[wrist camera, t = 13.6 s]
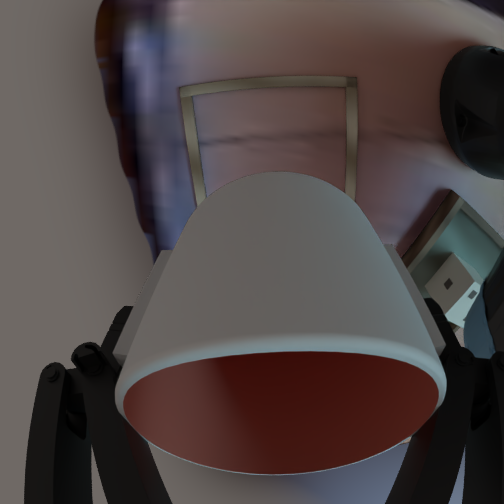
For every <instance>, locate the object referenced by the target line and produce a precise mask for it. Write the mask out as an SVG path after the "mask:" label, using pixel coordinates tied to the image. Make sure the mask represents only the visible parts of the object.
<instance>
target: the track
mask: <svg viewBox="0 0 504 504" xmlns="http://www.w3.org/2000/svg"><path fill="white" fill-rule="evenodd" d="M294 86H328V87H346V178H345V194H346V195H348V196H349V197H350V198H351V199H352V200H353V201H354V202H355V190H356V170H357V134H358V108H357V77H340V76H277V77H259V78H246V79H236V80H226V81H218V82H210V83H203V84H197V85H190V86H184V87H179V91H180V98H181V106H182V113H183V120H184V127H185V133H186V140H187V147H188V153H189V159H190V165H191V172H192V178H193V183H194V189H195V195H196V201H197V206H199V205H200V204H201V203H202V202H203V201H204V200H205V199H206V198H207V197H206V190H205V184H204V178H203V171H202V164H201V158H200V151H199V144H198V137H197V130H196V123H195V115H194V108H193V100H192V96H193V95H199V94H206V93H214V92H222V91H231V90H241V89H253V88H269V87H294Z"/></svg>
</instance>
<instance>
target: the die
mask: <svg viewBox="0 0 504 504" xmlns="http://www.w3.org/2000/svg"><path fill="white" fill-rule="evenodd" d="M483 281H484V280H483V279H482V278H481V276H480V275H479V274H478V272H477V271H476V270H475V269H474V268H473V267H472V266H471V265H469V264H468V263H467V262H465V261H464V260H463V259H462V258H460V257H459V256H458V255H456V254H455V253H454V252H452V254H451V255H450V256H449V257H448V259H447V260H446V261H445V262H444V264H443V265H442V266H441V267H440V269H439V270H438V271H437V272H436V273H435V275H434V276H433V277H432V278H431V279H430V280H429V282H428V283H427V284H426V285H425V287H426V289H427V291H428V293H429V294H430V296H431V298H433V299H434V300H435V301H436V302H437V303H438V304H439V305H440V307H441V309H442V310H443V312H444V315H445V316H446V318H447V320H448V321H450V322H452V323H454V324H456V325H458V326H460V327H462V328H464V323H465V319H466V316H467V313H468V311H469V309H470V308H471V306H472V304H473V302H474V301H475V299H476V297H477V295H478V294H479V292H480V286H481V285H482V283H483Z"/></svg>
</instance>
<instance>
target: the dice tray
mask: <svg viewBox="0 0 504 504" xmlns="http://www.w3.org/2000/svg"><path fill="white" fill-rule="evenodd" d="M503 247H504V240H503V239H502V238H501V237H500V235H499V234H498V233H497V232H496V231H495V230H494V229H493V228H492V227H491V226H490V225H489V224H488V223H487V222H486V221H485V220H484V219H483V218H482V217H481V216H480V215H479V214H478V213H477V212H476V211H475V210H474V209H473V208H472V207H471V206H470V205H469V204H468V203H467V202H466V201H465V200H463V199H462V198H461V197H460V196H459V195H458V194H457V193H455V192H454V191H453V190H452V189H451V191H450V192H449V194H448V195H447V197H446V198H445V200H444V201H443V203H442V204H441V205H440V207H439V208H438V210H437V211H436V213H435V214H434V216H433V217H432V218H431V220H430V221H429V223H428V224H427V225H426V227H425V228H424V229H423V231H422V232H421V234H420V235H419V236H418V238H417V239H416V240H415V242H414V243H413V244H412V245H411V247H410V248H409V249H408V251H407V252H406V253H405V254H404V256H403V257H402V258H401V260H402V262H403V263H404V265H405V267H406V268H407V270H408V272H409V274H410V275H411V277H412V279H413V281H414V283H415V284H416V286H417V288H418V290H419V292H420V294H421V295H422V297H423V298H431V296H430V294H429V293H428V291H427V289H426V287H425V285H426V284H427V283H428V282H429V280H430V279H431V278H432V277H433V276H434V275H435V273H436V272H437V271H438V270H439V269H440V267H441V266H442V265H443V264H444V262H445V261H446V260H447V259H448V257H449V256H450V255H451V254H452V252H454V253H455V254H456V255H458V256H459V257H460V258H462V259H463V260H464V261H465V262H467V263H468V264H469V265H471V266H472V267H473V268H474V269H475V270H476V271H477V272H478V274H479V275H480V276H481V278H482V279H483V280H485V278H486V277H488V275H489V273H490V272H491V270H492V268H493V266H494V264H495V262H496V261H497V259H498V257H499V255H500V253H501V251H502V249H503ZM448 322H449V324H450V326H451V328H452V330H453V332H454V333H455V332H456V331H457V330H458V329H459V328H460V326H458V325H456V324H454V323H452V322H450V321H448Z"/></svg>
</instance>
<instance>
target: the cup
mask: <svg viewBox="0 0 504 504" xmlns="http://www.w3.org/2000/svg"><path fill="white" fill-rule="evenodd" d="M446 386H447V380H446V376H445V372H444V369H443V367H442V364H441V362H440V359H439V357H438V355H437V352H436V350H435V347H434V345H433V343H432V340H431V338H430V336H429V334H428V331H427V329H426V327H425V325H424V323H423V321H422V318H421V316H420V314H419V312H418V310H417V308H416V306H415V304H414V302H413V300H412V298H411V296H410V294H409V292H408V290H407V288H406V286H405V284H404V282H403V280H402V278H401V276H400V274H399V273H398V271H397V269H396V267H395V265H394V263H393V262H392V260H391V258H390V256H389V254H388V253H387V251H386V249H385V247H384V246H383V244H382V242H381V240H380V239H379V237H378V235H377V234H376V232H375V230H374V229H373V227H372V225H371V224H370V222H369V220H368V219H367V217H366V216H365V214H364V213H363V211H362V210H361V209H360V207H359V206H358V205H357V204H356V203H355V202H354V201H353V200H352V199H351V198H350V197H349V196H348V195H346V194H345V193H344V192H342V191H341V190H340V189H338V188H337V187H335V186H333V185H331V184H330V183H328V182H325V181H323V180H321V179H318V178H316V177H312V176H309V175H305V174H300V173H295V172H278V171H275V172H264V173H258V174H253V175H249V176H245V177H242V178H240V179H237V180H235V181H232V182H230V183H228V184H226V185H224V186H223V187H221V188H219V189H218V190H216V191H215V192H214V193H212V194H211V195H209V196H208V197H207V198H206V199H205V200H204V201H203V202H202V203H201V204H200V205H199V206H198V207H197V208H196V210H195V211H194V212H193V214H192V215H191V216H190V218H189V220H188V221H187V223H186V225H185V227H184V229H183V231H182V233H181V235H180V237H179V239H178V241H177V243H176V245H175V247H174V249H173V252H172V254H171V256H170V258H169V260H168V262H167V264H166V266H165V269H164V271H163V273H162V275H161V277H160V279H159V282H158V284H157V286H156V288H155V291H154V293H153V295H152V297H151V300H150V302H149V304H148V307H147V309H146V311H145V314H144V316H143V318H142V321H141V323H140V325H139V328H138V330H137V333H136V335H135V338H134V340H133V343H132V345H131V348H130V350H129V353H128V355H127V358H126V360H125V363H124V366H123V368H122V371H121V373H120V376H119V379H118V382H117V384H116V388H115V403H116V406H117V409H118V411H119V413H120V414H121V415H122V416H123V417H124V418H125V419H126V420H127V421H128V422H129V424H130V425H131V426H132V427H133V428H134V429H135V430H136V431H137V432H138V433H139V434H140V435H141V436H142V437H143V438H144V439H145V440H146V441H147V442H149V443H150V444H152V445H153V446H155V447H157V448H158V449H160V450H162V451H164V452H166V453H168V454H170V455H173V456H175V457H178V458H180V459H183V460H186V461H189V462H191V463H195V464H198V465H202V466H205V467H209V468H213V469H218V470H223V471H229V472H236V473H244V474H257V475H292V474H303V473H312V472H319V471H325V470H330V469H334V468H339V467H343V466H347V465H350V464H354V463H357V462H360V461H363V460H366V459H369V458H371V457H374V456H376V455H379V454H381V453H383V452H385V451H387V450H389V449H391V448H393V447H395V446H397V445H399V444H400V443H402V442H404V441H405V440H407V439H408V438H410V437H411V436H413V435H414V434H415V433H416V432H417V431H418V430H419V429H420V428H421V426H422V425H423V424H424V423H425V422H426V421H427V420H428V419H429V418H430V417H431V416H432V415H433V413H434V412H435V411H436V410H437V409H438V408H439V406H440V405H441V404H442V402H443V400H444V397H445V393H446Z"/></svg>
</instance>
